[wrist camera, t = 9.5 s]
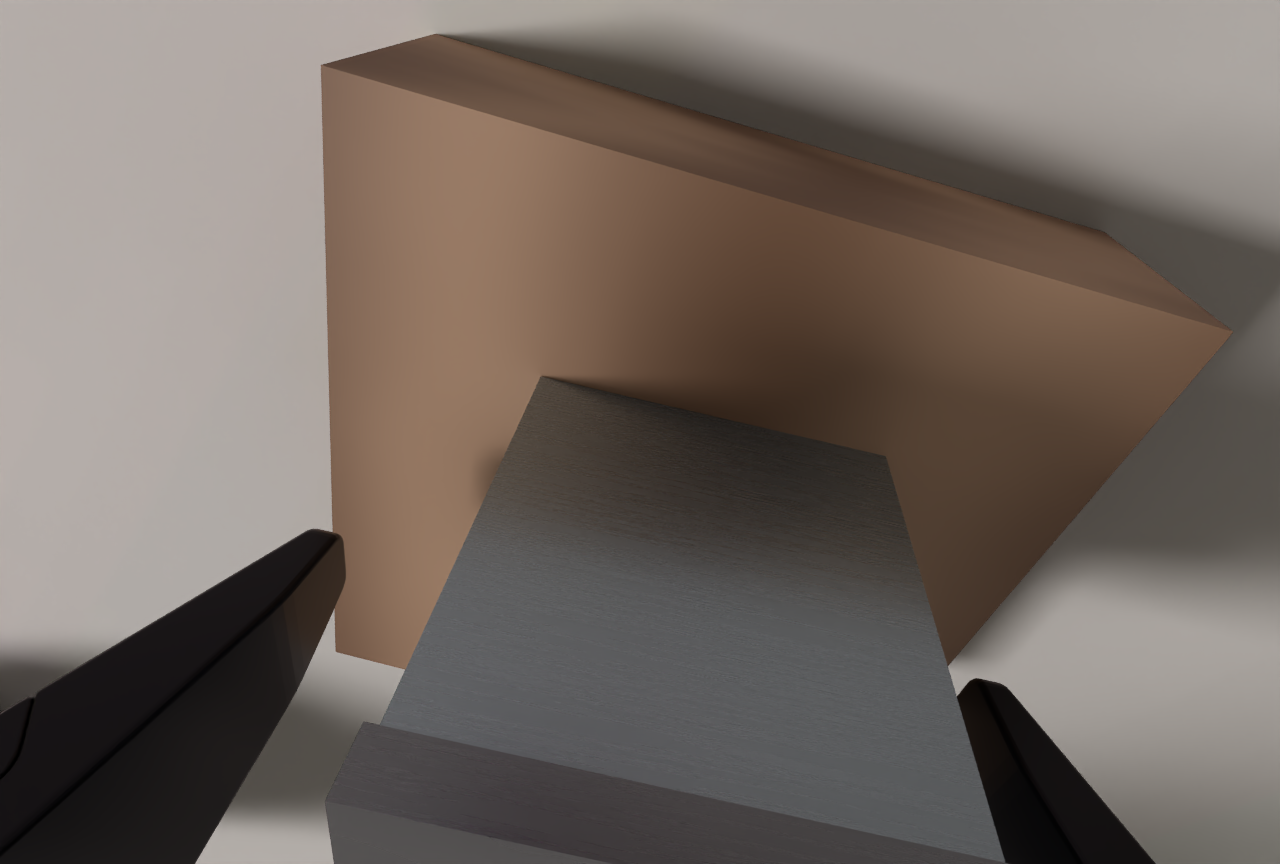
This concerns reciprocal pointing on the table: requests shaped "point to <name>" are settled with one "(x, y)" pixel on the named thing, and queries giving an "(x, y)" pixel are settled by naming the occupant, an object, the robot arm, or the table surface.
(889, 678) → the slate tin
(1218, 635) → the table surface
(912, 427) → the walnut block
